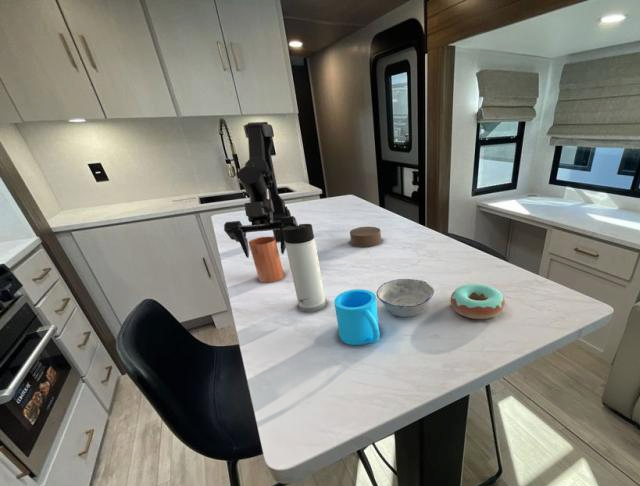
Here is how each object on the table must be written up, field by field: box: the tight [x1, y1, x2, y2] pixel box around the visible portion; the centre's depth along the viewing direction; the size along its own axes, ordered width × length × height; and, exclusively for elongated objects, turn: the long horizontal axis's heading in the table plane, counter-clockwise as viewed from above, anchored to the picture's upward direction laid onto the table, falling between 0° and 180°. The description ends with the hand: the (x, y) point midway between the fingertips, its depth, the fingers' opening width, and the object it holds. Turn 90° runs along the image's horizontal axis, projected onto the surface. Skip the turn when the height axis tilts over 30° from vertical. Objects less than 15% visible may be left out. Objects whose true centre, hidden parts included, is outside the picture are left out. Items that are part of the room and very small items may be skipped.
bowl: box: [376, 278, 435, 318], centre depth 73 cm, size 13×13×5 cm
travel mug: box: [282, 223, 326, 313], centre depth 72 cm, size 6×7×20 cm
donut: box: [450, 283, 506, 320], centre depth 72 cm, size 12×12×4 cm
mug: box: [333, 288, 381, 346], centre depth 63 cm, size 12×8×8 cm
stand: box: [349, 226, 382, 248], centre depth 115 cm, size 11×11×4 cm
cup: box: [248, 236, 285, 283], centre depth 89 cm, size 7×7×11 cm
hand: (265, 255), depth 88 cm, fingers open, 9 cm apart
